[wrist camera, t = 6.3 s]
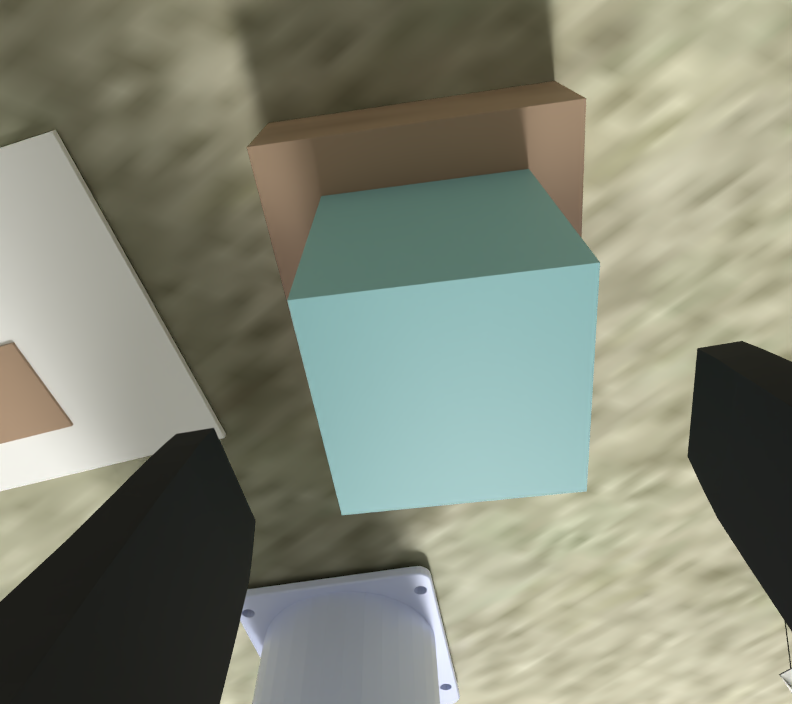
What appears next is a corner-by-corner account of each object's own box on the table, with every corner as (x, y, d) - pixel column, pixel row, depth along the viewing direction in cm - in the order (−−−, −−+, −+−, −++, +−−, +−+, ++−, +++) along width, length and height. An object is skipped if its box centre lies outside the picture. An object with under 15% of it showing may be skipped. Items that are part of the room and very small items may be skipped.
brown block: (549, 326, 18) (576, 381, 16) (325, 353, 18) (315, 411, 16) (550, 78, 14) (585, 98, 12) (270, 119, 15) (246, 147, 12)
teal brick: (530, 347, 15) (586, 491, 11) (355, 367, 15) (341, 515, 11) (528, 169, 13) (600, 262, 8) (321, 196, 13) (286, 300, 9)
